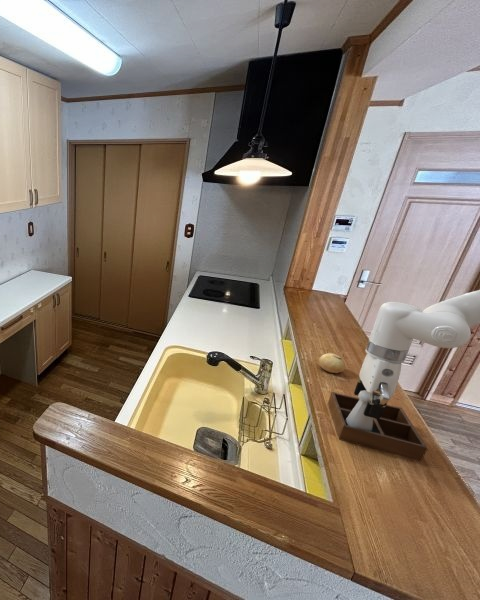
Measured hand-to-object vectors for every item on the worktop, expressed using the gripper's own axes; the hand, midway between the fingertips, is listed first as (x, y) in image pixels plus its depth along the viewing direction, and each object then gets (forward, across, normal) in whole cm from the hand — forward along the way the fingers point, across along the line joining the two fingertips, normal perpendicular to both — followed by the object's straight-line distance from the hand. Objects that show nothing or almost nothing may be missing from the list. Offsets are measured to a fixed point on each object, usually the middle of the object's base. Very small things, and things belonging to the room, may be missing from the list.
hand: (365, 405), depth 88 cm
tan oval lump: (+10, +37, 0) cm, 38 cm away
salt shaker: (+9, 0, 0) cm, 9 cm away
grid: (+10, +4, -4) cm, 11 cm away
